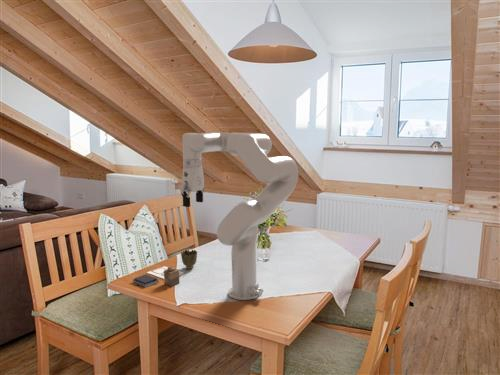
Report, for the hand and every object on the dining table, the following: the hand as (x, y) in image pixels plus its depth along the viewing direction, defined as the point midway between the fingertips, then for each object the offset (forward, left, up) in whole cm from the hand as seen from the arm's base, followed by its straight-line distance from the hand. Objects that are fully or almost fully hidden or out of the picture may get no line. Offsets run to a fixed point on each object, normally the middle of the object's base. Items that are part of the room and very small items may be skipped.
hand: (193, 204), depth 176 cm
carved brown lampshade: (+13, -8, -34) cm, 37 cm away
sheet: (+17, +3, -33) cm, 38 cm away
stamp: (+5, +9, -33) cm, 35 cm away
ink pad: (+15, +15, -33) cm, 40 cm away
